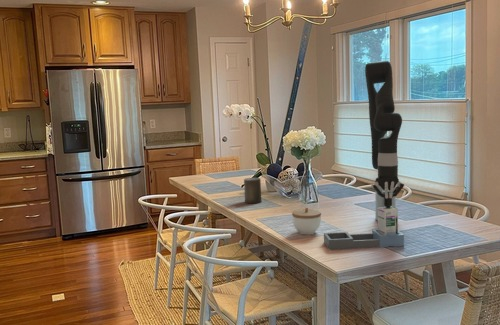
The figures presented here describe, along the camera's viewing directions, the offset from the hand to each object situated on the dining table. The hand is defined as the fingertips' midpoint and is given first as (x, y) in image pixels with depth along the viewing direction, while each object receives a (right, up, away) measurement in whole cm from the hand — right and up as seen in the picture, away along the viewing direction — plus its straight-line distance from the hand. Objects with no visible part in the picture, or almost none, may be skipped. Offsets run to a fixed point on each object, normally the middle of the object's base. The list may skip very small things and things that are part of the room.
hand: (387, 207), depth 188 cm
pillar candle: (-53, -6, +88) cm, 103 cm away
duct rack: (-9, -15, +2) cm, 18 cm away
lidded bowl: (-29, -13, +21) cm, 39 cm away
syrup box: (+1, -15, +2) cm, 15 cm away
